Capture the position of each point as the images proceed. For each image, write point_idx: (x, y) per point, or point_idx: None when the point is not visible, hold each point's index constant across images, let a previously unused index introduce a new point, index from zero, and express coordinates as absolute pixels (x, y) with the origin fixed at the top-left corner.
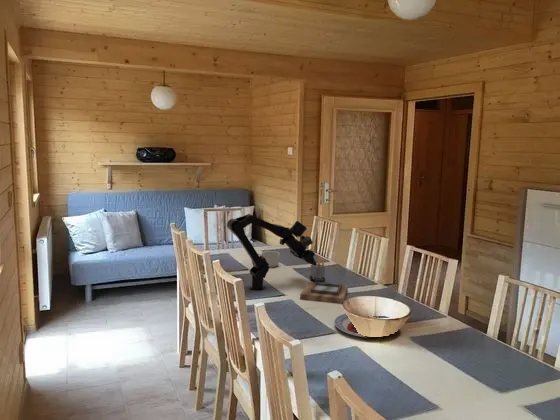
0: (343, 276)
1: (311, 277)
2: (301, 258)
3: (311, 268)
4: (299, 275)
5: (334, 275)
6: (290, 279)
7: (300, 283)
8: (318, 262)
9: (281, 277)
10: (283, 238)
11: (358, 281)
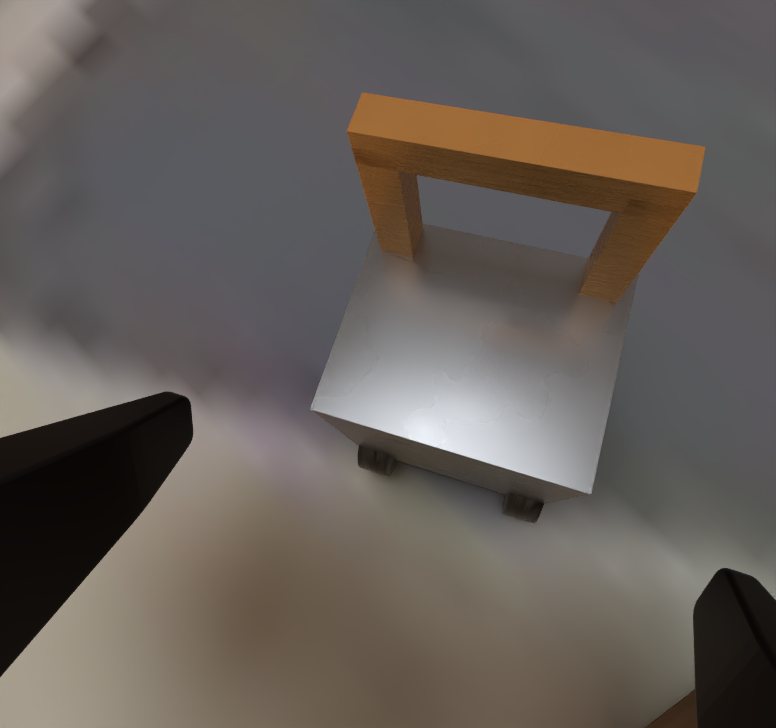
0: (505, 36)
1: (394, 459)
2: (14, 652)
3: (358, 432)
4: None
5: (414, 88)
6: (157, 673)
7: (395, 708)
8: (394, 228)
9: (2, 710)
10: None
11: (765, 20)
